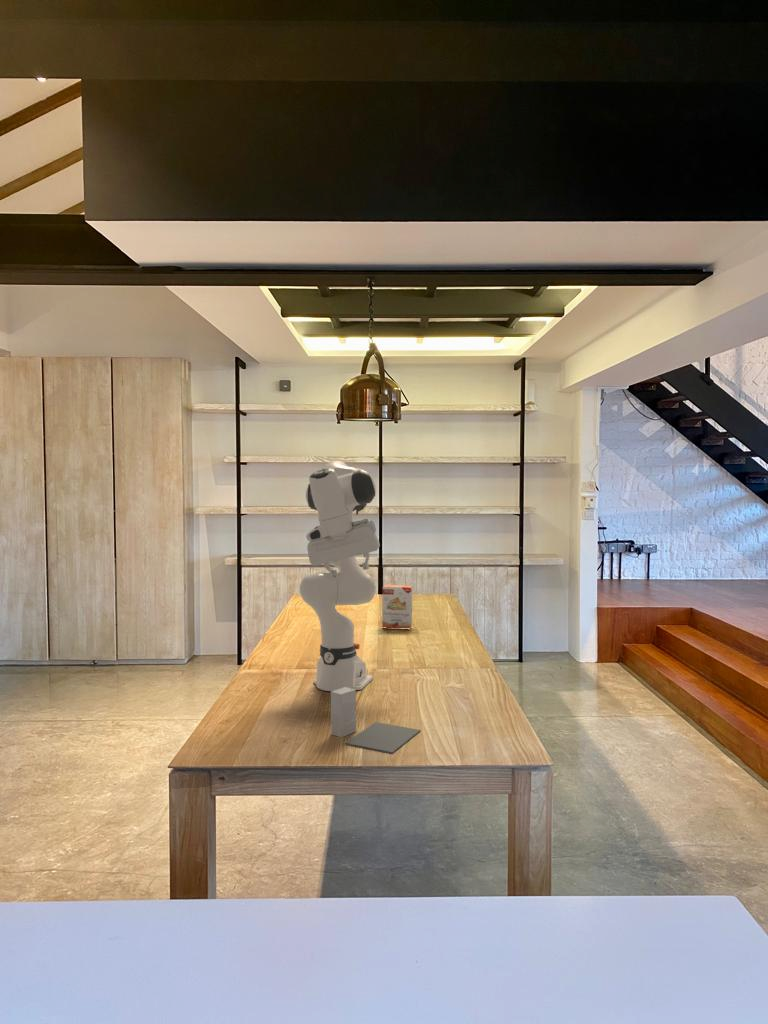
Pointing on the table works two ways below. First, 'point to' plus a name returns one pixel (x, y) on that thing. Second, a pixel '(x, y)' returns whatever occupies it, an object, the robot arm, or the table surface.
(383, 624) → the cracker box
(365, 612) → the table surface
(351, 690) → the skincare box
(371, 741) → the mat
